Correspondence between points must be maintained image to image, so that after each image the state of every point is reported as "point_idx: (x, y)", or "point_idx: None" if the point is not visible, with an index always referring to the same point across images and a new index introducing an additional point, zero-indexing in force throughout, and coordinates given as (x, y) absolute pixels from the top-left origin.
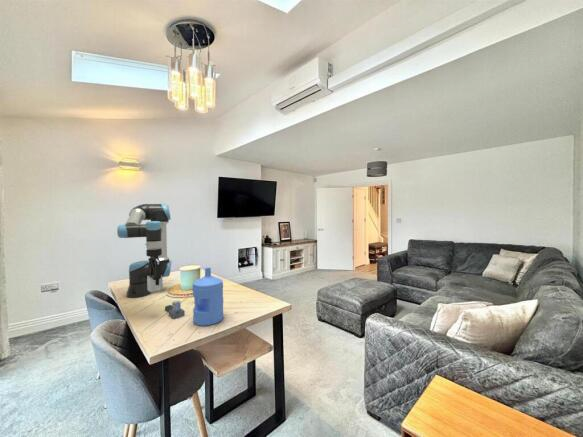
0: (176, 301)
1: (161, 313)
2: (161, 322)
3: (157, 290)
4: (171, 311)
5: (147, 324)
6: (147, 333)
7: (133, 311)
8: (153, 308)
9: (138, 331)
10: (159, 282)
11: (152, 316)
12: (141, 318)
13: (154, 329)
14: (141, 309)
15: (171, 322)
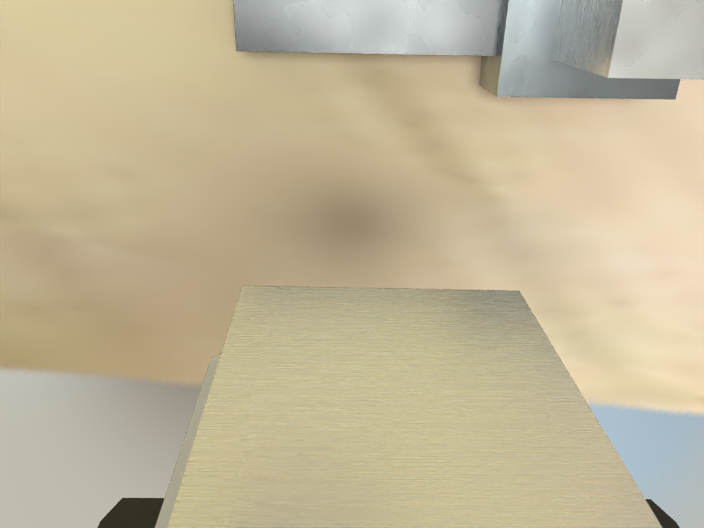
0: (657, 11)
1: (332, 123)
2: (592, 212)
3: None
4: (567, 82)
5: None
6: (699, 365)
7: (26, 325)
8: (69, 137)
9: (591, 401)
10: None
11: (344, 227)
12: None
13: (682, 306)
14: (11, 250)
15: (693, 137)
